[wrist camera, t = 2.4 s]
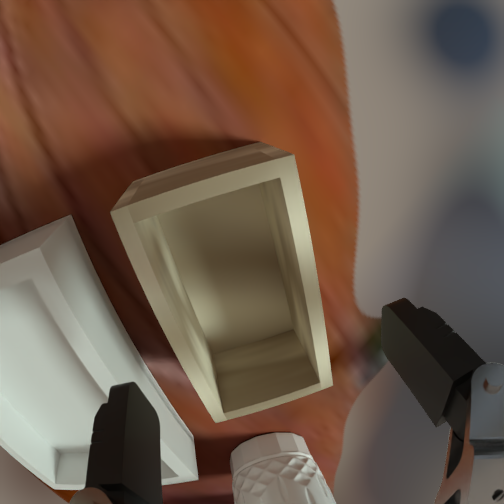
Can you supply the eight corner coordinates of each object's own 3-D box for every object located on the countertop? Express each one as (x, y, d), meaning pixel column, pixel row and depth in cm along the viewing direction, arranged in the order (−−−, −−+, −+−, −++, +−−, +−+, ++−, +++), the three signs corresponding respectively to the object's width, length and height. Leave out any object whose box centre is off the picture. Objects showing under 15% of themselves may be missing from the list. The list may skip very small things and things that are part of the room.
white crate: (193, 436, 21) (198, 479, 18) (60, 453, 20) (54, 489, 17) (71, 214, 14) (39, 247, 10) (-71, 282, 13) (-102, 314, 9)
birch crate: (301, 327, 19) (332, 385, 15) (206, 357, 19) (215, 423, 14) (259, 141, 14) (294, 154, 10) (133, 180, 14) (110, 211, 9)
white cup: (326, 426, 24) (371, 522, 15) (289, 471, 27) (317, 553, 18) (239, 425, 22) (268, 543, 13) (212, 471, 24) (229, 566, 15)
